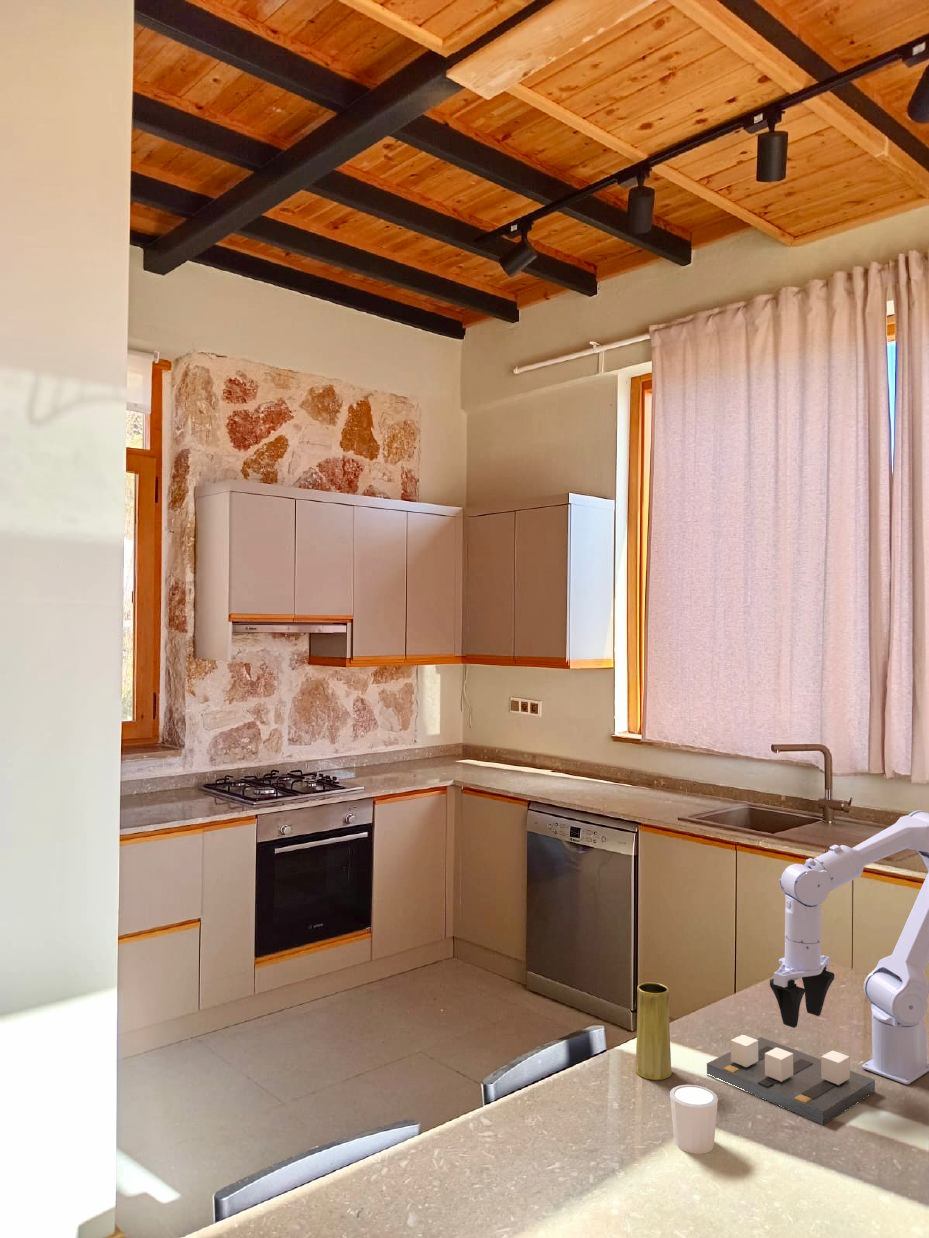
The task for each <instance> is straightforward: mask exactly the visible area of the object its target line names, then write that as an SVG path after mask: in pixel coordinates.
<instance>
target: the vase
mask: <svg viewBox="0 0 929 1238" xmlns="http://www.w3.org/2000/svg"><path fill="white" fill-rule="evenodd" d="M636 988H637V989H636V990H637V991H636V992H637V997H636V998H637V1004H636V1005H637V1006H636V1007H637V1010H636V1012H637V1015H636V1016H637V1018H636V1043H635V1044H636V1047H635V1048H636V1050H635V1051H636V1052H635V1066H634V1071H635V1073H636V1074H637V1075H638V1076H639V1077H641V1078H644V1079H646V1080H651V1081H662V1080H666V1079H669V1077H672V1076H671V1075H672V1073H673V1070H672V1057H671V1056H672V1055H671V1054H672V1053H671V1051H672V1050H671V1036H670V1035H671V1032H670V991H669V990H670V989H669V987H668V986H666V985H665V984H662V983H659V982H650V981H647V982H646V981H645V982H642V983H640V984H638V985H637V987H636Z"/></svg>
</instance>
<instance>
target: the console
mask: <svg viewBox="0 0 929 1238" xmlns="http://www.w3.org/2000/svg"><path fill="white" fill-rule="evenodd" d="M755 1039H756V1040H758V1062H756V1063H754V1064H752V1065H750V1066H748V1067H744V1066H742V1065H739V1064H737V1063H734V1062H732V1061H731V1051H729V1052H728V1053H725V1054H723V1055H721V1056H719V1057H717V1058H715V1059H713V1060H710V1061H709V1062H706V1075H707V1074H710V1075H712V1076H714V1077H715V1078H719V1079H721V1080H723V1081H725V1082H728V1083H730V1084H732V1085H735V1086H737V1087H739V1088H742V1089H744V1090H745V1091H748V1092H750V1093H752V1094H754V1095H756V1096H759V1097H760V1098H759V1099H761V1098H764V1099H766V1100H767V1101H766V1102H768V1101H769V1102H768V1103H770V1102H772V1103H774V1104H773V1105H775V1104H777V1105H780V1106H782V1107H784V1108H785V1109H784V1108H783V1109H784V1110H786V1109H789V1110H790V1111H789V1110H788V1111H789V1112H791V1111H792V1113H793V1112H795V1113H794V1114H796V1113H797V1114H796V1115H798V1116H800V1115H802V1116H801V1117H803V1116H804V1117H803V1118H805V1119H807V1120H809V1121H812V1122H815V1123H816V1124H818V1125H821V1126H825V1124H827V1123H829V1122H830V1121H832V1120H834V1119H835V1118H837V1117H839V1115H841V1114H843V1113H845V1112H846V1111H848V1110H849V1109H851V1108H852V1107H854V1106H855V1104H856V1103H857V1102H859V1103H860V1102H862V1101H863V1100H864V1099H863V1098H865V1099H866V1097H867V1096H868V1095H870V1096H871V1095H872V1093H873V1092H874V1093H876V1079H874V1078H872V1077H869V1076H866V1075H863V1074H862V1073H858V1072H855V1071H853V1070H850V1079H848V1080H846V1081H845V1082H843V1083H841V1084H840V1085H837V1084H835V1083H832V1082H830V1081H827V1080H825V1079H822V1078H821V1059H820V1058H817V1057H815V1056H814V1055H813V1056H812V1055H810V1054H807V1053H805V1052H802V1051H800V1050H797V1049H794V1048H791V1047H789V1046H786V1045H783V1044H781V1043H778V1042H775V1041H773V1040H769V1039H766V1038H764V1037H763V1036H761V1037H758V1038H755ZM776 1047H777V1048H780V1049H783V1050H785V1051H788V1052H790V1053H793V1076H791V1077H789V1078H787V1079H785V1080H783V1081H782V1082H781V1081H779V1080H776V1079H774V1078H771V1077H769V1076H766V1075H765V1053H767V1052H768V1051H770V1050H772V1049H774V1048H776ZM745 1091H744V1092H745ZM874 1093H873V1094H874ZM754 1095H753V1096H754ZM756 1096H755V1097H756ZM868 1097H869V1096H868ZM868 1097H867V1098H868ZM862 1099H863V1100H862ZM861 1100H862V1101H861ZM772 1103H771V1104H772ZM857 1104H858V1103H857ZM857 1104H856V1105H857ZM777 1105H776V1106H777ZM853 1105H854V1106H853ZM851 1106H852V1107H851ZM782 1107H781V1108H782ZM850 1107H851V1108H850ZM847 1109H848V1110H847ZM845 1110H846V1111H845ZM844 1111H845V1112H844ZM842 1112H843V1113H842Z"/></svg>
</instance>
